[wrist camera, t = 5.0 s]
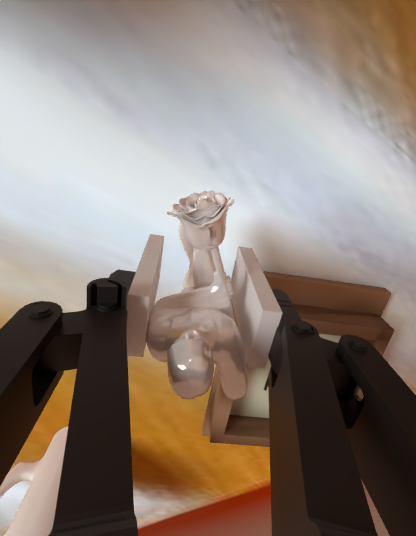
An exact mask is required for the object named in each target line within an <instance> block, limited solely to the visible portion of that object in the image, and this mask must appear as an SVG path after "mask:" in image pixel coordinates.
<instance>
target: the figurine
mask: <svg viewBox="0 0 416 536" xmlns="http://www.w3.org/2000/svg"><path fill="white" fill-rule="evenodd" d="M229 200H230V198H229V199H228V200H227V199H226V197H225V196H224V195H223V194H222V193H214V191H209V192H207V191H203V192H201V193H200V194H198V193H193V194H191V195H190V196H188V197H186V198H182V199H180V201H179V204H173V210H172V211H173V212H176V214H174V213H172V212H167V214H169V215H171V216H175V217H177V218H178V219H179V220H180V225H179V236H180V240H181V242H182V244H183V247H184V250H185V252H186V253H187V256H188V258H189V262H190V265H189V269H188V271H187V273H186V276H185V279H184V282H183V287H184V289H183V290H182V291H181V293H178V294H174V295H170V296H167V297H164V298H162V299H160V300H159V301H157V302H156V303H155V305H154V306H153V308H152V310H151V313H150V317H149V322H148V328H147V337H146V340H147V346H148V349H149V351H150V353H151V355H152V356H153V357H154V358H155V359H157V360H159V361H162V362H167V366H168V376H169V381H170V384H171V386H172V389H173V391H174V392H175V393H176V394H177V395H178V396H180V397H181V398H183V399H194V398H196V397H198V396H201V395H203V394H205V393H206V392H207V391H208V389H209V387H210V386H211V383H212V380H213V372H214V364H213V363H215V364H216V365H217V367H218V370H219V374H220V379H221V385H222V389H223V391H224V393H225V395H226V396H227V397H228V398H230V399H233V400H235V399H239V398H242V397H243V396H245V394H246V392H247V388H248V377H247V368H246V359H245V352H244V346H243V342H242V338H241V334H240V332H239V330H238V327H237V325H236V323H235V321H234V315H233V307H232V301H231V295H232V294H233V291H232V289H233V288H232V286H231V281H230V277H229V276H227V275H226V273H225V272H224V268H223V264H222V260H221V256H220V252H219V248H218V246H219V245H220V244H221V243H222V242H223V240H224V237H225V230H226V216H227V211H228V208H229V206H231V205H233V203H234V199H233V200H232V201H231V202H230V203H229V205H227V203H228V201H229ZM226 205H227V206H226Z"/></svg>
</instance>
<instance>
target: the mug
mask: <svg viewBox="0 0 416 536" xmlns="http://www.w3.org/2000/svg"><path fill="white" fill-rule="evenodd" d="M67 432H68V426H67V427H64V428H62V429H60V430H59V431H58V432H57V433H56V434H55V435H54V437H53V439H52V441H51V443H50V445H49V447H48V449H47V451H46V453H45V455H44V457H43V458H42V459H41V460H40V461H37V462H19V463H18V464H17V465H16V466H15V467H14V468H13V469H12V470H11V471H10V472H9V473H8V474H7V476H6V477H5V479H4V481H3V483H2V485H1V486H0V498H1V497H2V496H3V494H4V493H5V492H6V491H7V490H8V489H10V488H11V487H12V486H14V485H15V484H17V483H18V482H20V481H24V480H27V481H31V484H30V486H29V488H28V490H27V492H26V494H25V496H24V498H23V500H22V502H21V504H20V506H19V508H18V510H17V512H16V514H15V517H14V519H13V521H12V523H11V525H10V527H9V529H8V531H7V532H6V534H5V535H4V536H48V535H49V534H50V532H51V531H52V527H53V522H54V516H55V510H56V503H57V497H58V490H59V484H60V477H61V471H62V464H63V458H64V451H65V445H66V438H67Z"/></svg>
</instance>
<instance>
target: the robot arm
mask: <svg viewBox="0 0 416 536" xmlns="http://www.w3.org/2000/svg"><path fill="white" fill-rule="evenodd" d="M163 242H164V236H160V235H153V234H150V236H149V239H148V241H147V244H146V247H145V249H144V252H143V255H142V257H141V260H140V263H139V265H138V268H137V271H136V272H132V271H124V270H117V271H115V272H114V273H112V274H111V275H110V277H109V278H100V279H96V280H93V281H91V282H90V283H89V284H88V285H87V308H86V310H83V311H78V312H69V313H62V308H61V306H60V305H58V304H56V303H53V302H45V301H40V302H34V303H31V304H28V305H25V306H24V307H22V308H21V309H20V310H19V311H18V312H17V313H16V314H15V315H14V316H13V317H12V318H11V319H10V320H9V321H8V322H7V323H6V324H5V325H4V326H3V327H2V328H1V329H0V486H1V485H2V483H3V481H4V479H5V477H6V476H7V474H8V472H9V470H10V468H11V467H12V465H13V463H14V461H15V459H16V458H17V456H18V454H19V452H20V450H21V449H22V447H23V445H24V443H25V441H26V440H27V438H28V436H29V434H30V432H31V431H32V429H33V427H34V425H35V423H36V422H37V420H38V418H39V416H40V414H41V413H42V411H43V409H44V407H45V405H46V404H47V402H48V400H49V398H50V396H51V395H52V393H53V391H54V389H55V388H56V386H57V384H58V382H59V380H60V379H61V377H62V375H63V372H64V370H71V369H77V373H76V380H75V386H74V393H73V399H72V406H71V412H70V419H69V425H68V432H67V438H66V445H65V451H64V458H63V464H62V471H61V477H60V484H59V490H58V497H57V503H56V510H55V516H54V522H53V527H52V531H51V532H50V534H49V535H48V536H138V529H137V520H136V516H135V514H134V504H133V480H132V456H131V433H130V409H129V385H128V361H127V355H128V356H138V357H143V356H144V351H145V346H146V341H147V340H146V337H147V328H148V322H149V317H150V313H151V310H152V308H153V306H154V303H155V298H156V293H157V288H158V283H159V277H160V268H161V260H162V251H163ZM231 286H232V288H233V289H232V291H233V294H232V295H231V299H232V303H233V308H234V312H235V316H236V321H237V325H238V330H239V332H240V334H241V338H242V342H243V346H244V352H245V359H246V365H247V367H252V368H262V369H265V367H266V364H267V361H268V358H269V360H270V363H271V368H270V371H269V374H268V377H267V380H266V383H265V386H264V390H265V391H266V390H267V387H268V391H269V432H270V473H271V513H272V536H378V535H377V532H376V530H375V527H374V523H373V520H372V516H371V513H370V509H369V506H368V502H367V499H366V495H365V492H364V488H363V485H362V481H363V483H364V485H365V487H366V489H367V491H368V493H369V495H370V497H371V499H372V501H373V503H374V505H375V507H376V509H377V511H378V513H379V515H380V517H381V519H382V521H383V523H384V525H385V527H386V529H387V531H388V533H389V535H390V536H416V395H415V394H414V393H413V392H412V391H411V389H410V388H409V387H408V386H407V385H406V384H405V382H404V381H403V380H402V379H401V378H400V376H399V375H398V374H397V373H396V372H395V371H394V369H393V368H392V367H391V366H390V365H389V364H388V362H387V361H386V360H385V359H384V358H383V357H382V355H381V354H380V353H379V352H378V351H377V350H376V348H375V347H374V346H373V345H372V344H370V343H369V342H368V341H366V340H364V339H363V338H361V337H359V336H354V335H350V334H349V335H343V336H341V337H340V340H339V342H338V343H337V342H333V341H330V340H327V339H324V338H321V337H320V336H319V332H318V331H317V329H316V328H315V327H314V326H313V325H311V324H310V323H308V322H306V321H303V320H301V318H300V316H299V314H298V313H297V311H296V309H295V308H294V305H293V304H292V303H291V300H290V298H289V297H288V295H287V294H286V293H284V292H283V291H282V290H280V289H272V288H270V286H269V283H268V281H267V279H266V277H265V275H264V273H263V271H262V269H261V267H260V265H259V263H258V261H257V259H256V256H255V254H254V252H253V250H252V248H245V247H238V252H237V256H236V261H235V265H234V270H233V274H232V279H231ZM359 389H361V391H362V393H363V395H364V397H363V399H362V400H361V399H360V398H359V396H358V395H357V393H358V391H359ZM360 477H361V478H360ZM361 479H362V481H361Z"/></svg>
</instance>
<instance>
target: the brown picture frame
mask: <svg viewBox="0 0 416 536" xmlns="http://www.w3.org/2000/svg"><path fill="white" fill-rule="evenodd" d="M263 273H264V275H265V277H266V279H267V281H268V283H269V286H270V288H272V289H280V290H282V291H283V292H284V293H286V294H287V295H288V297H289V298H290V300H291V303H292V304H293V305H294V308H295V309H296V311H297V313H298V314H299V316H300V318H301V320H303V321H306V322H308V323H310V324H311V325H313V326H314V327H315V328H316V329H317V331H318V332H319V336H320V337H321V338H324V339H327V340H330V341H333V342H337V343H338V342H339V340H340V337H341V336H343V335H349V334H350V335H354V336H359V337H361V338H363V339H364V340H366V341H368V342H369V343H370V344H372V345H373V346H374V347H375V348H376V350H377V351H378V352H379V353H380V354H381V355H383V353H384V351H385V349H386V347H387V345H388V343H389V341H390V338H391V336H392V334H393V332H394V330H393V329H392V328H391V327H390V326H389V325H388V324H387V323H386V322H385V321H384V320H383V319H382V318H381V315H382V313H383V310H384V308H385V306H386V304H387V301H388V299H389V297H390V295H391V293H390V292H389V291H388V290H386V289H385V288H379V287H372V286H365V285H357V284H350V283H343V282H335V281H328V280H321V279H314V278H306V277H299V276H292V275H284V274H277V273H270V272H263ZM231 301H232V299H231ZM232 307H233V303H232ZM233 315H234V321H235V323H236V325H237V321H236V316H235V312H234V308H233ZM237 327H238V325H237ZM246 368H247V377H248V388H247V392H246V394H245V396H243V397H242V398H239V399H235V400H233V399H230V398H228V397H227V396H226V395H225V393H224V391H223V389H222V385H221V379H220V374H219V370H218V367H217V365H216V370H215V374H214V379H213V383H212V388H211V392H210V397H209V401H208V406H207V410H206V415H205V419H204V424H203V436H210V442H213V443H226V444H239V445H252V446H265V447H270V432H269V391H268V387H267V390H266V391H265V390H264V386H265V383H266V380H267V377H268V374H269V371H270V368H271V363H270V360H269V358H268V361H267V364H266V367H265V369H262V368H252V367H247V365H246ZM357 395H358V396H359V398H360V399H362V397H363V393H362V391H361V389H359V391H358V393H357Z"/></svg>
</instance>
